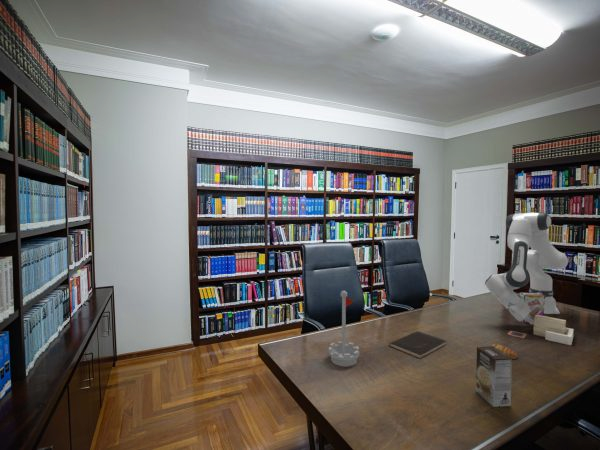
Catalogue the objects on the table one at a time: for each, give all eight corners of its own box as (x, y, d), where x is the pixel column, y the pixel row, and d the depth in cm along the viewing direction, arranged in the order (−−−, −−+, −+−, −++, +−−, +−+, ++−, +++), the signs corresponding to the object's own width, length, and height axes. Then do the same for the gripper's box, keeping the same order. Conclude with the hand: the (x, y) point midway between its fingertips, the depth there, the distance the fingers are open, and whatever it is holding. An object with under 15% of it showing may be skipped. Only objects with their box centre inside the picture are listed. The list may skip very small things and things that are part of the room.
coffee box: (474, 390, 106) (475, 346, 105) (491, 390, 106) (492, 345, 106) (493, 407, 97) (494, 358, 96) (512, 406, 97) (513, 357, 97)
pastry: (519, 357, 131) (519, 348, 131) (514, 361, 127) (514, 353, 127) (495, 349, 139) (495, 341, 138) (489, 353, 134) (489, 345, 134)
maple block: (535, 331, 159) (535, 314, 159) (565, 337, 151) (565, 320, 151) (533, 334, 155) (534, 317, 155) (564, 341, 147) (564, 323, 146)
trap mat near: (510, 330, 160) (510, 330, 160) (526, 334, 155) (526, 334, 155) (507, 334, 155) (507, 334, 155) (524, 338, 150) (524, 337, 150)
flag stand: (340, 370, 120) (340, 296, 119) (322, 357, 131) (322, 289, 130) (365, 363, 126) (366, 292, 125) (347, 350, 137) (347, 285, 136)
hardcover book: (446, 345, 144) (446, 340, 144) (420, 359, 130) (420, 354, 130) (416, 335, 156) (416, 330, 156) (389, 347, 142) (389, 342, 142)
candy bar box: (523, 322, 172) (524, 294, 171) (518, 319, 177) (518, 292, 176) (544, 323, 171) (545, 295, 170) (538, 320, 176) (539, 292, 175)
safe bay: (548, 331, 159) (549, 324, 159) (573, 336, 152) (573, 329, 152) (545, 339, 149) (545, 331, 149) (571, 345, 142) (571, 337, 142)
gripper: (512, 302, 155) (535, 325, 149) (520, 294, 170) (541, 316, 163) (502, 308, 159) (524, 332, 152) (510, 301, 173) (531, 321, 167)
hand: (533, 323), depth 158 cm, fingers closed, pressing on maple block
